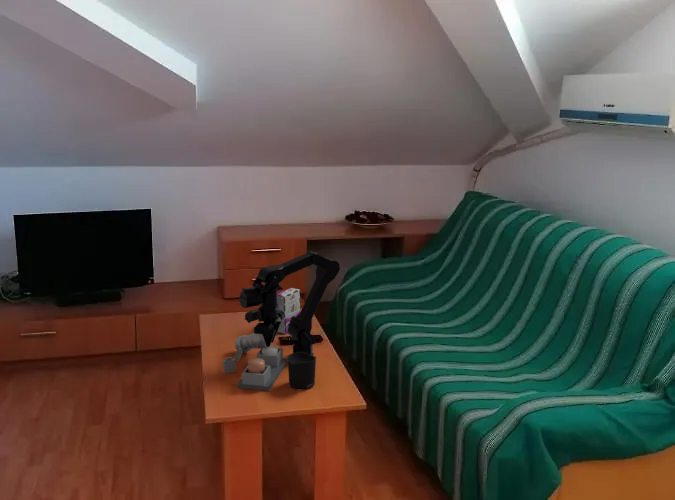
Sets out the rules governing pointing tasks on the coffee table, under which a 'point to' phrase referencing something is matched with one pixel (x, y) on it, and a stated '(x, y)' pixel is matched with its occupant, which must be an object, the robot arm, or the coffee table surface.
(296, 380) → the pen holder
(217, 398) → the coffee table surface
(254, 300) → the robot arm
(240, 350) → the lighter
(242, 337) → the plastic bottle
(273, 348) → the grey button
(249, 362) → the terracotta button
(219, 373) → the coffee table surface
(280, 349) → the twin socket base plate
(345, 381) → the coffee table surface
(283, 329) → the candy bar box
